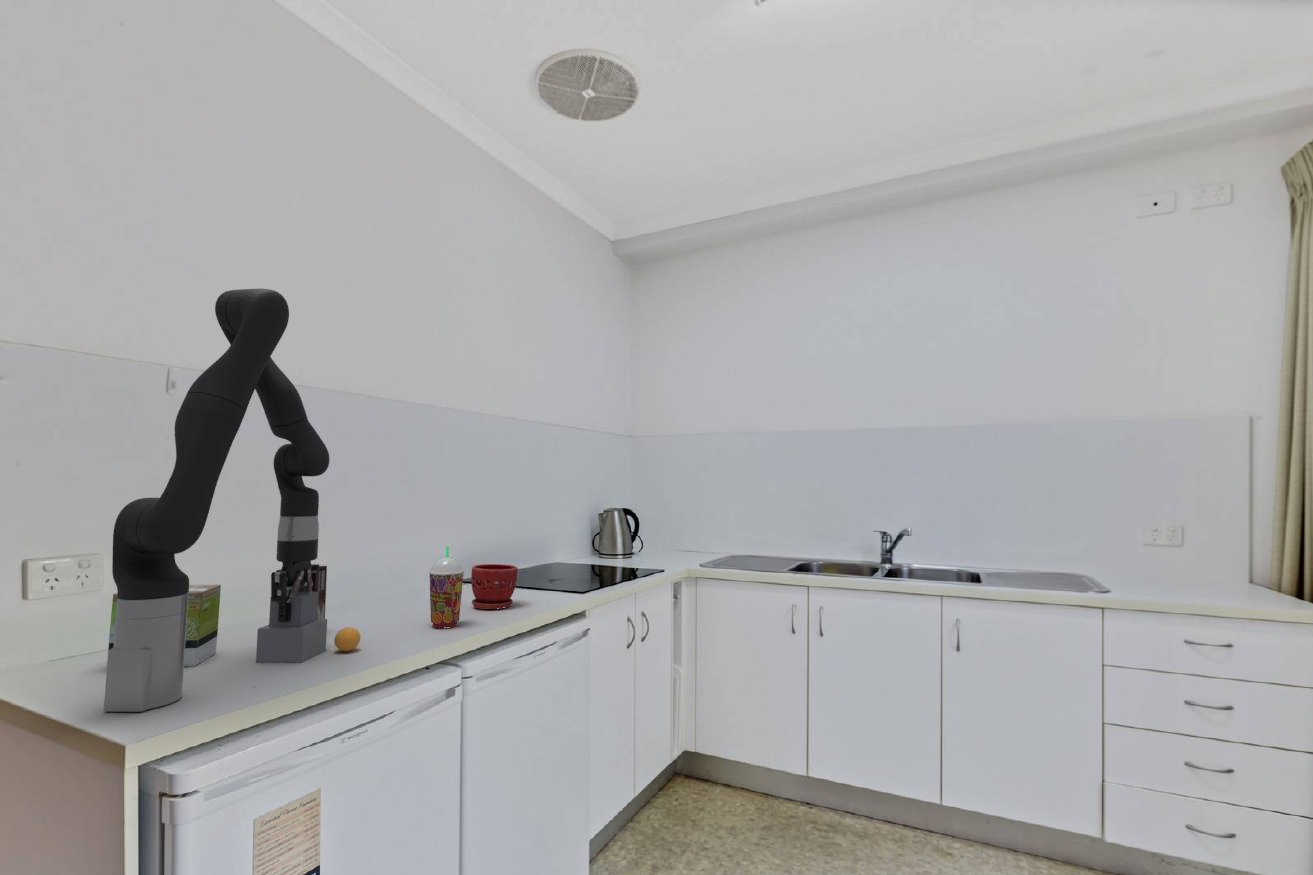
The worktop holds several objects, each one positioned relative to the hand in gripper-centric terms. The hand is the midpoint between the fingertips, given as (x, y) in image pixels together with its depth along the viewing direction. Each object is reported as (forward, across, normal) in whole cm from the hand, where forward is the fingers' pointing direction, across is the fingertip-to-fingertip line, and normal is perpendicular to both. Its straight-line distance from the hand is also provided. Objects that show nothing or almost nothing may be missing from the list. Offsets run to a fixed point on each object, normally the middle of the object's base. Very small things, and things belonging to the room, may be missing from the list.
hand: (294, 618), depth 130 cm
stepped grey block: (+8, 0, 0) cm, 8 cm away
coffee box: (+8, +16, +8) cm, 20 cm away
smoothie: (+8, +28, -22) cm, 37 cm away
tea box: (+8, -5, +23) cm, 24 cm away
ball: (+5, +4, -9) cm, 11 cm away
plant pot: (+8, +53, -28) cm, 61 cm away
